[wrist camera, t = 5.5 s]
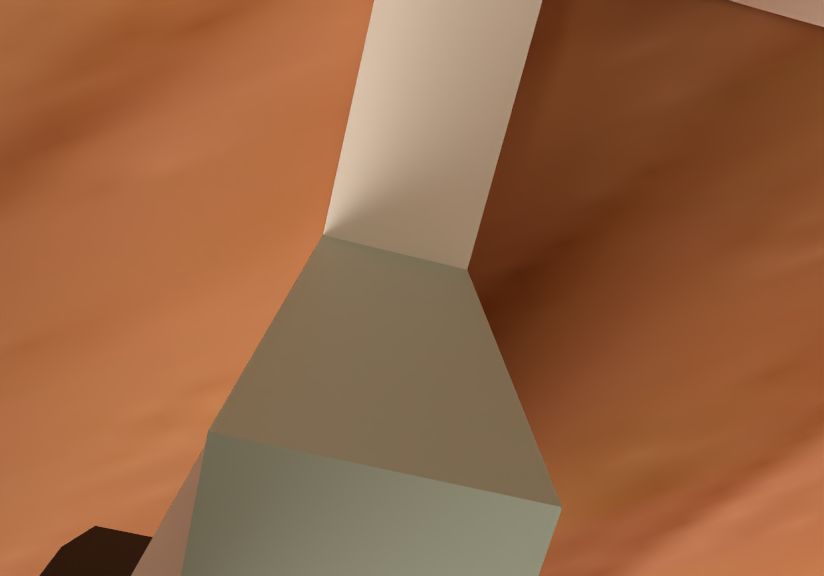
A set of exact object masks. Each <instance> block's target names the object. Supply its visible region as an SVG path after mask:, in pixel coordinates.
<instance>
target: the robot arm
mask: <svg viewBox="0 0 824 576" xmlns="http://www.w3.org/2000/svg"><path fill="white" fill-rule="evenodd" d="M204 451H205V446H204V448H203V450H202V452H201V453H200V455H199V457H198V459H197V461H196V462H195V464H194V466H193V468H192V469H191V471H190V473H189V475H188V476H187V478H186V480H185V482H184V483H183V485H182V487H181V489H180V490H179V492H178V494H177V496H176V497H175V499H174V501H173V503H172V505H171V506H170V508H169V510H168V512H167V513H166V515H165V517H164V519H163V520H162V522H161V524H160V526H159V527H158V529H157V531H156V533H155V534H154V536H153V537H148V536H143V535H138V534H133V533H128V532H123V531H118V530H113V529H108V528H103V527H98V526H94V527H93V528H91V529H89V530H88V531H86V532H85V533H83V534H81V535H80V536H78V537H77V538H75V539H73V540H72V541H70V542H69V543H67V544H65V545H64V546H62V547H61V548H60V550H59V551H58V552H57V553H56V555H55V556H54V557H53V559H52V560H51V561H50V563H49V564H48V565H47V567H46V568H45V569H44V571H43V572H42V573H41V574H40V576H181V572H182V567H183V562H184V557H185V551H186V546H187V541H188V535H189V530H190V525H191V519H192V514H193V509H194V504H195V498H196V493H197V488H198V482H199V477H200V472H201V467H202V461H203V456H204Z"/></svg>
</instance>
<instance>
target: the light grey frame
mask: <svg viewBox="0 0 824 576" xmlns="http://www.w3.org/2000/svg"><path fill="white" fill-rule="evenodd" d="M729 1H733V2H736V3H740V4H743V5H747V6H750V7H754V8H758V9H761V10H765V11H768V12H772V13H775V14H779V15H782V16H786V17H789V18H793V19H796V20H800V21H803V22H807V23H811V24H814V25H818V26H821V27H824V0H729ZM541 4H542V0H374V4H373V9H372V14H371V18H370V23H369V27H368V32H367V36H366V41H365V46H364V50H363V55H362V59H361V64H360V68H359V73H358V77H357V82H356V87H355V91H354V96H353V100H352V105H351V109H350V114H349V119H348V123H347V128H346V132H345V137H344V141H343V146H342V150H341V155H340V160H339V164H338V169H337V173H336V178H335V182H334V187H333V191H332V196H331V201H330V205H329V210H328V214H327V219H326V223H325V228H324V233H323V236H322V238H321V239H320V241H319V243H318V244H317V246H316V248H315V250H314V251H313V253H312V255H311V256H310V258H309V260H308V261H307V263H306V265H305V267H304V268H303V270H302V272H301V273H300V275H299V277H298V279H297V280H296V282H295V284H294V285H293V287H292V289H291V291H290V292H289V294H288V296H287V297H286V299H285V301H284V303H283V304H282V306H281V308H280V309H279V311H278V313H277V314H276V316H275V318H274V320H273V321H272V323H271V325H270V326H269V328H268V330H267V332H266V333H265V335H264V337H263V338H262V340H261V342H260V344H259V345H258V347H257V349H256V350H255V352H254V354H253V356H252V357H251V359H250V361H249V362H248V364H247V366H246V367H245V369H244V371H243V373H242V374H241V376H240V378H239V379H238V381H237V383H236V385H235V386H234V388H233V390H232V391H231V393H230V395H229V397H228V398H227V400H226V402H225V403H224V405H223V407H222V409H221V410H220V412H219V414H218V415H217V417H216V419H215V420H214V422H213V424H212V426H211V427H210V429H209V431H208V435H207V440H206V445H205V451H204V456H203V461H202V467H201V472H200V477H199V482H198V488H197V493H196V498H195V504H194V509H193V514H192V519H191V525H190V530H189V535H188V541H187V546H186V551H185V557H184V562H183V567H182V572H181V576H538V575H539V573H540V570H541V567H542V564H543V561H544V558H545V555H546V553H547V550H548V547H549V544H550V541H551V538H552V535H553V532H554V530H555V527H556V524H557V521H558V518H559V515H560V512H561V510H562V505H561V503H560V500H559V498H558V495H557V493H556V490H555V488H554V485H553V483H552V480H551V478H550V475H549V473H548V470H547V468H546V465H545V463H544V460H543V458H542V455H541V453H540V450H539V448H538V445H537V443H536V440H535V438H534V435H533V433H532V430H531V428H530V425H529V423H528V420H527V418H526V415H525V413H524V410H523V408H522V405H521V403H520V400H519V398H518V395H517V393H516V390H515V388H514V385H513V383H512V380H511V378H510V375H509V373H508V370H507V368H506V365H505V363H504V360H503V358H502V355H501V353H500V350H499V348H498V345H497V343H496V340H495V338H494V335H493V333H492V330H491V328H490V325H489V323H488V320H487V318H486V315H485V313H484V310H483V308H482V305H481V303H480V300H479V298H478V295H477V293H476V290H475V288H474V285H473V283H472V280H471V278H470V275H469V273H468V270H467V269H468V265H469V262H470V258H471V255H472V251H473V247H474V244H475V240H476V237H477V233H478V230H479V226H480V222H481V219H482V215H483V212H484V208H485V204H486V201H487V197H488V194H489V190H490V187H491V183H492V179H493V176H494V172H495V169H496V165H497V161H498V158H499V154H500V151H501V147H502V144H503V140H504V136H505V133H506V129H507V126H508V122H509V119H510V115H511V111H512V108H513V104H514V101H515V97H516V93H517V90H518V86H519V83H520V79H521V76H522V72H523V68H524V65H525V61H526V58H527V54H528V50H529V47H530V43H531V40H532V36H533V33H534V29H535V25H536V22H537V18H538V15H539V11H540V7H541Z"/></svg>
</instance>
